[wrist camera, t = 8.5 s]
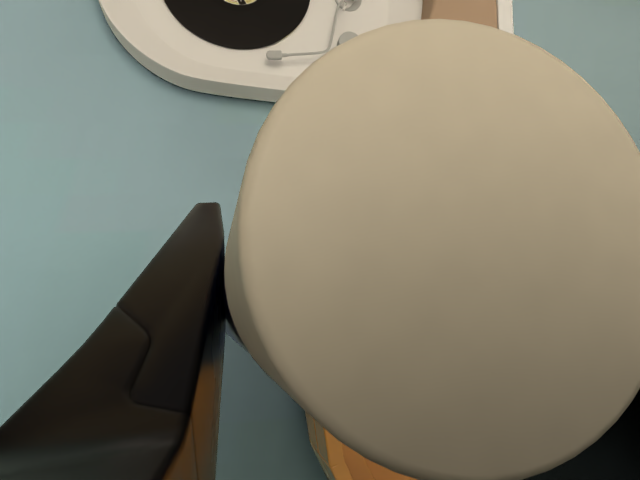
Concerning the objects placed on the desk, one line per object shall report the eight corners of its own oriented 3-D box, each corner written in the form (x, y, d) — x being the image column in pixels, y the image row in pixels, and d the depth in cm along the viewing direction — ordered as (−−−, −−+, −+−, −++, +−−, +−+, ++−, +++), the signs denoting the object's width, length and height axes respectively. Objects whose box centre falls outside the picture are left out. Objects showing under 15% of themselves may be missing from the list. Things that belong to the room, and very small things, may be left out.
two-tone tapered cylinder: (294, 360, 15) (653, 535, 3) (201, 336, 15) (163, 427, 2) (318, 269, 16) (692, 102, 4) (229, 243, 16) (313, -56, 3)
